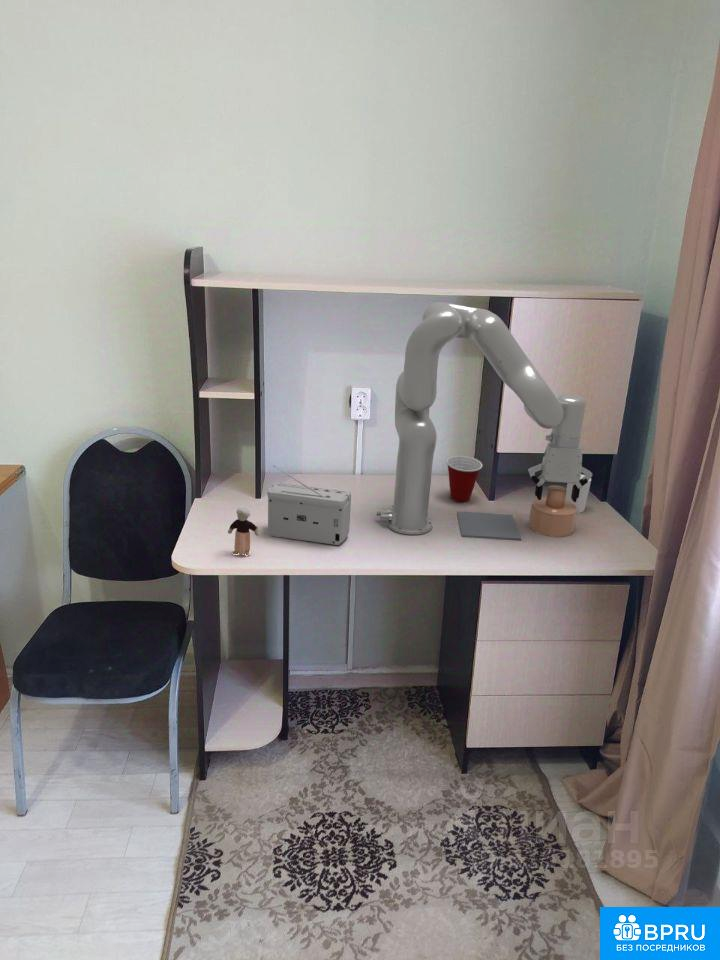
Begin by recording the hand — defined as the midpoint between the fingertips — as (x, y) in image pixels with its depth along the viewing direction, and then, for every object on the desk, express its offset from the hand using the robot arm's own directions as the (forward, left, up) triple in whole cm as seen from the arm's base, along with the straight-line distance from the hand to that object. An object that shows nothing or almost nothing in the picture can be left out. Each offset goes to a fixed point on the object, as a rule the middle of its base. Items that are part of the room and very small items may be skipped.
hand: (556, 499), depth 202 cm
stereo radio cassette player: (-67, -16, -9) cm, 70 cm away
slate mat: (-18, -2, -9) cm, 20 cm away
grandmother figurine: (-82, -28, -9) cm, 87 cm away
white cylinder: (+10, +15, -9) cm, 20 cm away
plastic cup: (-24, +17, -9) cm, 31 cm away
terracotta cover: (0, 0, -9) cm, 9 cm away
